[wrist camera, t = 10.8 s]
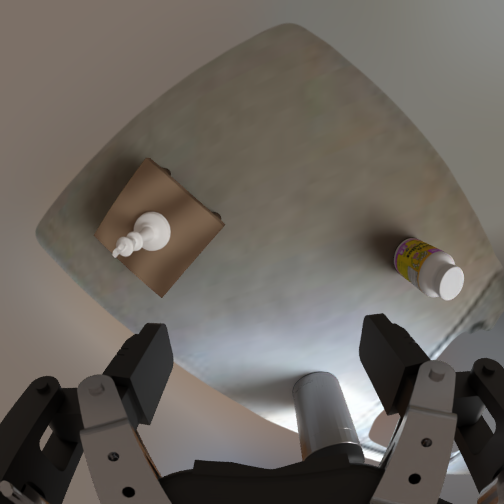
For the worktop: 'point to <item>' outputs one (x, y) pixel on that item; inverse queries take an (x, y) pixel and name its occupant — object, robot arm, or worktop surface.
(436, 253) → the supplement bottle
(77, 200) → the worktop surface
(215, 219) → the small wooden table
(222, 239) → the worktop surface
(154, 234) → the chess piece
